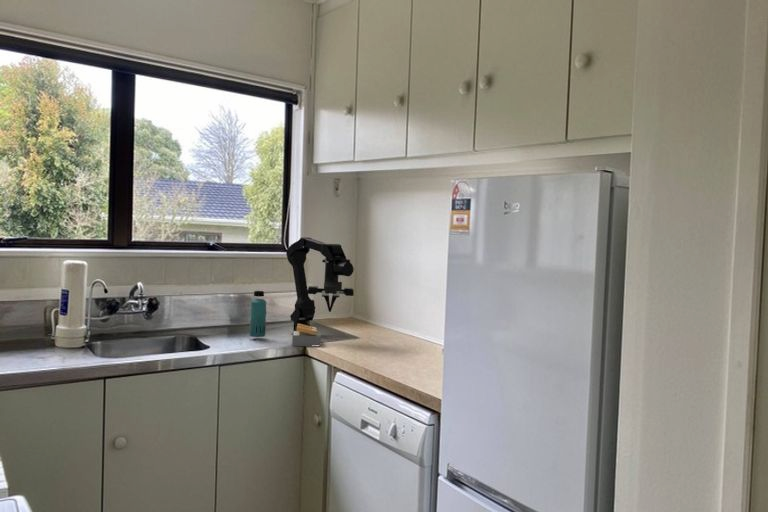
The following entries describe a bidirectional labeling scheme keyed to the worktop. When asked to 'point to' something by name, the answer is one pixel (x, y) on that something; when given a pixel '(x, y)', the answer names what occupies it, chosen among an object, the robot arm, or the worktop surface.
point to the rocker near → (306, 330)
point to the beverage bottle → (258, 316)
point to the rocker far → (306, 326)
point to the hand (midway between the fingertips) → (329, 311)
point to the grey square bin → (305, 339)
